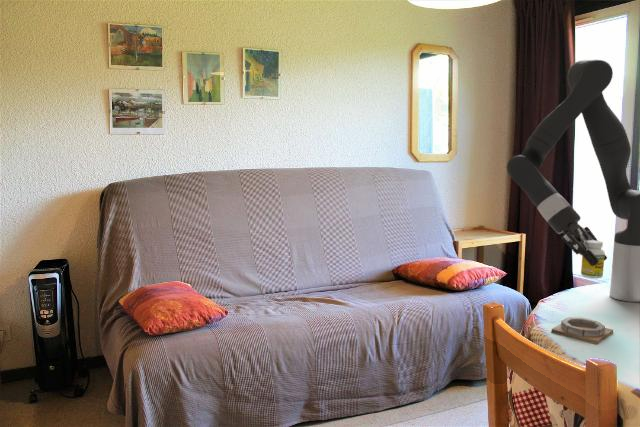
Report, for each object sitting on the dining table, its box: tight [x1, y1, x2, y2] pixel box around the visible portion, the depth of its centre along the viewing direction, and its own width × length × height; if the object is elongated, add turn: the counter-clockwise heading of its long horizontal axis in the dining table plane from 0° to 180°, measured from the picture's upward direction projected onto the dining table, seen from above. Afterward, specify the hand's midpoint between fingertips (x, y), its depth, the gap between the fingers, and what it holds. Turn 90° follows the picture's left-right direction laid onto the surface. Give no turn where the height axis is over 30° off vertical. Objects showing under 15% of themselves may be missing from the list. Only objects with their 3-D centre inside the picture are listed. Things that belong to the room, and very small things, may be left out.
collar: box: [551, 316, 614, 345], centre depth 138 cm, size 11×11×2 cm
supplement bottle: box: [580, 240, 606, 279], centre depth 147 cm, size 5×5×10 cm
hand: (599, 262), depth 146 cm, fingers closed on supplement bottle, 5 cm apart
